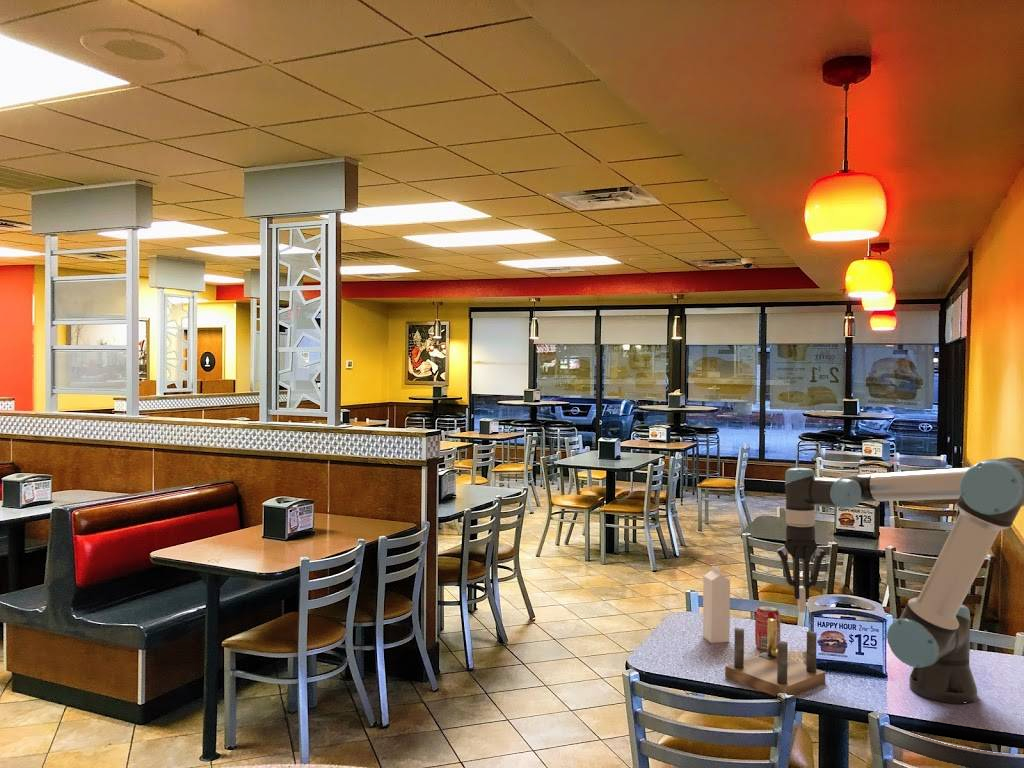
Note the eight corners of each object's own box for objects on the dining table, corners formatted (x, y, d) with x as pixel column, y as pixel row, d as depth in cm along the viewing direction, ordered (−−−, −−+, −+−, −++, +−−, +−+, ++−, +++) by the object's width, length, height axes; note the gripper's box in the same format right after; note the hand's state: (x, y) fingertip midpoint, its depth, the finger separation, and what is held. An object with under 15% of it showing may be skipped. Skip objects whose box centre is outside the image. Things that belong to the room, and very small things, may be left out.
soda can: (776, 644, 234) (777, 604, 234) (782, 652, 227) (783, 611, 227) (752, 643, 235) (753, 603, 234) (757, 651, 228) (758, 610, 227)
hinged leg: (785, 657, 212) (785, 623, 212) (777, 658, 212) (778, 624, 211) (772, 651, 217) (772, 618, 217) (765, 652, 216) (765, 618, 216)
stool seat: (825, 683, 204) (825, 633, 204) (785, 699, 193) (785, 647, 193) (765, 663, 218) (766, 616, 218) (725, 677, 208) (725, 628, 207)
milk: (711, 643, 235) (711, 570, 234) (702, 636, 241) (702, 565, 240) (730, 642, 236) (730, 569, 236) (720, 635, 242) (721, 564, 242)
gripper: (821, 522, 217) (822, 607, 217) (773, 522, 219) (774, 606, 219) (828, 527, 210) (830, 615, 210) (778, 526, 212) (779, 613, 211)
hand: (801, 610), depth 214 cm, fingers closed
